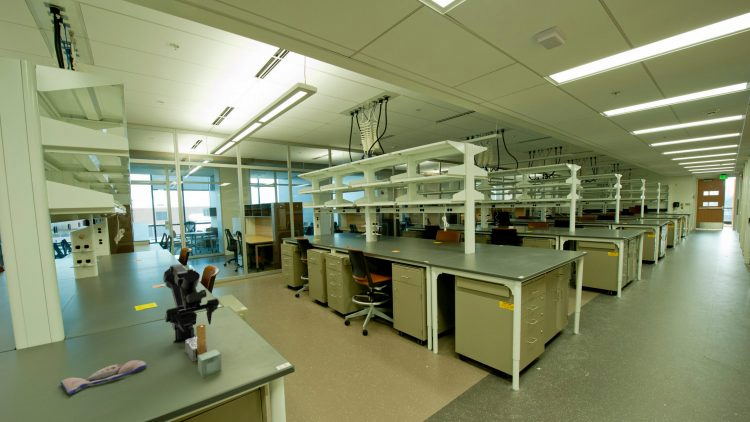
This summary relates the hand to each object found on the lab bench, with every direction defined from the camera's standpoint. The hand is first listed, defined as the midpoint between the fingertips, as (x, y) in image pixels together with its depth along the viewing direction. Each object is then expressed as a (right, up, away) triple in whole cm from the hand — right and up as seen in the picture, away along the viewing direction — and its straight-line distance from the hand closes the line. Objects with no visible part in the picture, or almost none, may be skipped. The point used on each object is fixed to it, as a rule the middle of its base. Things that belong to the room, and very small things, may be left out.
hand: (197, 327), depth 114 cm
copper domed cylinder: (+2, -11, -1) cm, 11 cm away
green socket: (+11, -12, -11) cm, 19 cm away
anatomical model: (-26, -13, -12) cm, 31 cm away
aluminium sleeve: (-2, -12, +2) cm, 12 cm away
